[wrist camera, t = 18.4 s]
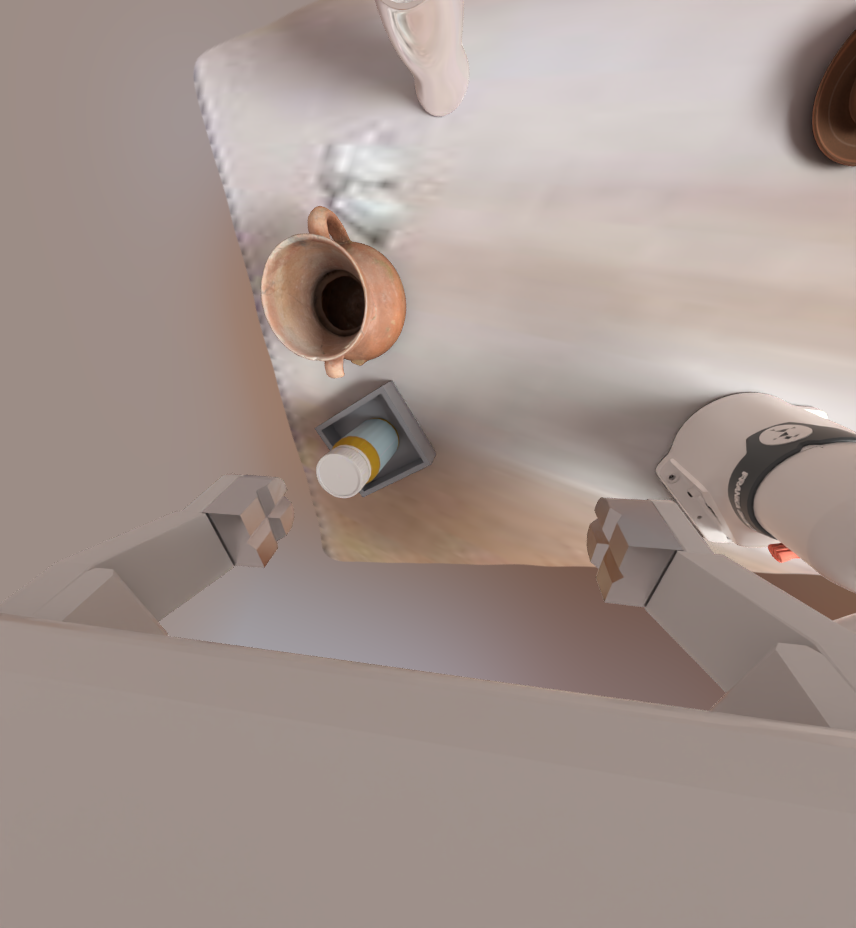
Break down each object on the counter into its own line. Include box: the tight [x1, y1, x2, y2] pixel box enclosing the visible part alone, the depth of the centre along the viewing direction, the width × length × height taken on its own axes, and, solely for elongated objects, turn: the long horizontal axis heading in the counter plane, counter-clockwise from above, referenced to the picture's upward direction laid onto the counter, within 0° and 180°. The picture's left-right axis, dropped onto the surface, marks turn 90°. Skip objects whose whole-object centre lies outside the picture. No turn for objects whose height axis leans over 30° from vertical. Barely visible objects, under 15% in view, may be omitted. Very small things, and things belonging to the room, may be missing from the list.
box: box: [315, 381, 436, 497], centre depth 53 cm, size 14×14×4 cm
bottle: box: [316, 418, 399, 498], centre depth 47 cm, size 7×7×15 cm
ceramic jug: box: [261, 206, 406, 378], centre depth 41 cm, size 18×14×14 cm
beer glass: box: [375, 0, 469, 116], centre depth 29 cm, size 7×7×15 cm
